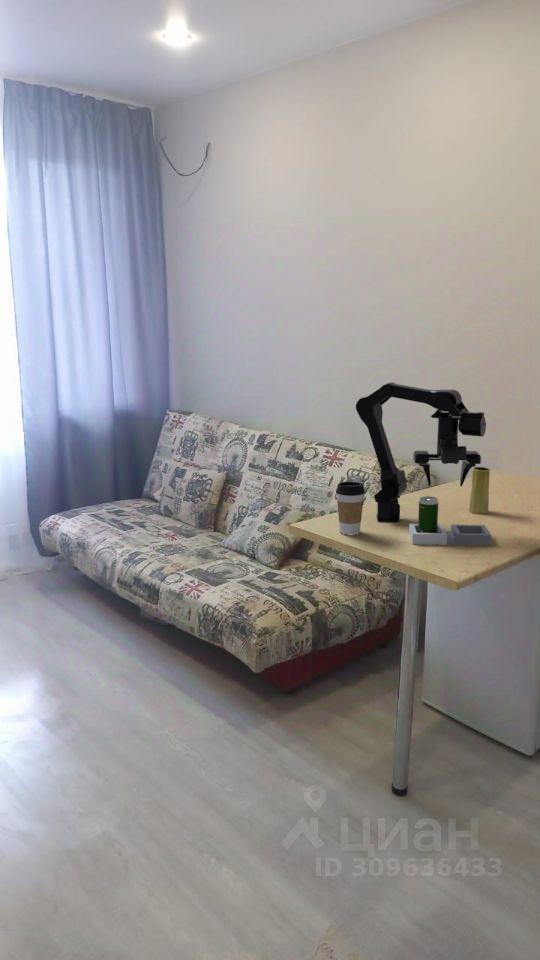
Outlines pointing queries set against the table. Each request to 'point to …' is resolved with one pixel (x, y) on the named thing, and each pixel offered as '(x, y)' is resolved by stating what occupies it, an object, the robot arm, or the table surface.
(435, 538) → the grey double square frame
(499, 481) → the table surface
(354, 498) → the coffee cup
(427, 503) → the beer can
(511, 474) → the table surface
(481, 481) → the vase
